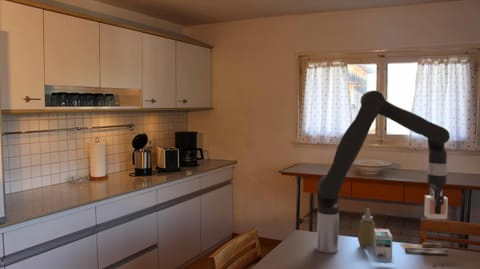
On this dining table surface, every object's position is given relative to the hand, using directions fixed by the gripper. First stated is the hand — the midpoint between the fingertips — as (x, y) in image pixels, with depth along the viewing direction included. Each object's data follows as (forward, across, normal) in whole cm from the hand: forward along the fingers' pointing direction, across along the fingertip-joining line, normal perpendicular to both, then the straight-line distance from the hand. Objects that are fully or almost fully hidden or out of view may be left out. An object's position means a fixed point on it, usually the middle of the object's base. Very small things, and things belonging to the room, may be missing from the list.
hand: (435, 211), depth 188 cm
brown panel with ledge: (+19, -2, -4) cm, 19 cm away
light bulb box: (+19, +6, -23) cm, 31 cm away
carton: (+2, 0, 0) cm, 2 cm away
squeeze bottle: (+19, -5, -28) cm, 34 cm away
